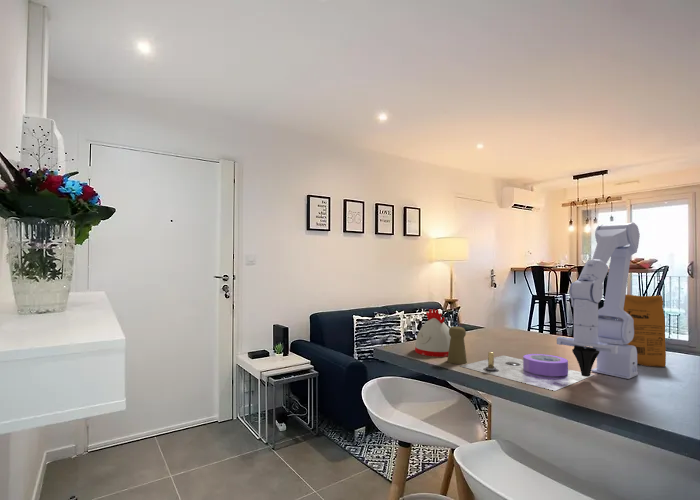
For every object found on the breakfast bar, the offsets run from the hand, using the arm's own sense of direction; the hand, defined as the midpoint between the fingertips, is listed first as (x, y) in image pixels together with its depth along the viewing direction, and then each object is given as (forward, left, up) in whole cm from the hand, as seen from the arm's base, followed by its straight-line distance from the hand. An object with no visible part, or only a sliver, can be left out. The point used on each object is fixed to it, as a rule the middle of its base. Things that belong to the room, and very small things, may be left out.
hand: (585, 375), depth 106 cm
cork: (+33, +12, -2) cm, 35 cm away
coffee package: (-2, -37, -2) cm, 37 cm away
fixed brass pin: (+21, +12, -1) cm, 24 cm away
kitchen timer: (+46, +7, -2) cm, 47 cm away
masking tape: (+11, 0, -2) cm, 11 cm away
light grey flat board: (+15, +4, -1) cm, 15 cm away
